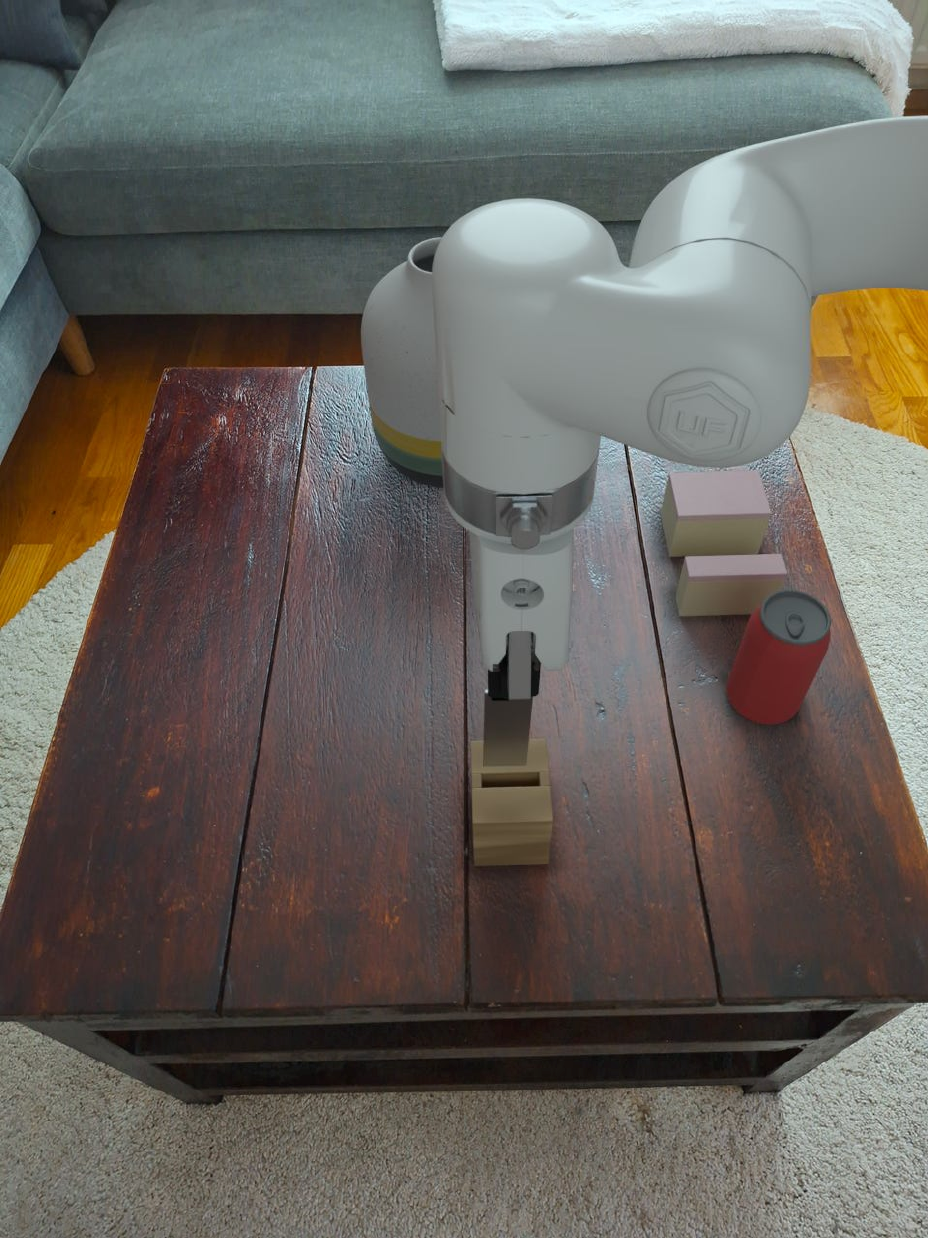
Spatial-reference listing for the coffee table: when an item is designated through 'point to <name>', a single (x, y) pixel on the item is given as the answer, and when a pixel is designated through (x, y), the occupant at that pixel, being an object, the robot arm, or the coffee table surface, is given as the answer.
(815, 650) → the beer can
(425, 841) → the coffee table surface
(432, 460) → the vase
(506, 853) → the knife block
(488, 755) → the knife
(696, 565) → the cake slice
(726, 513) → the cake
